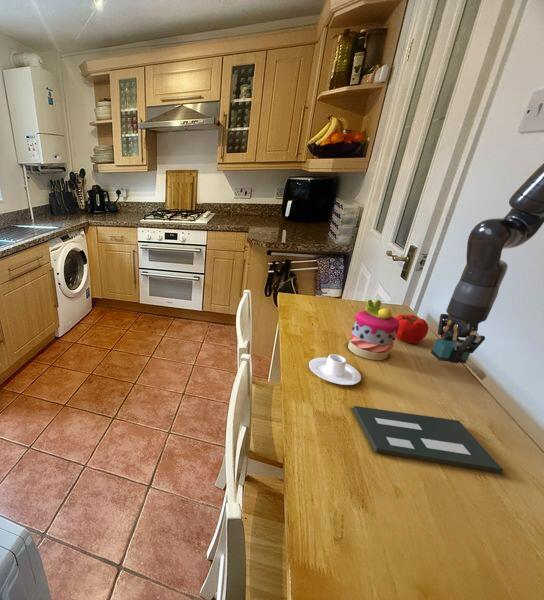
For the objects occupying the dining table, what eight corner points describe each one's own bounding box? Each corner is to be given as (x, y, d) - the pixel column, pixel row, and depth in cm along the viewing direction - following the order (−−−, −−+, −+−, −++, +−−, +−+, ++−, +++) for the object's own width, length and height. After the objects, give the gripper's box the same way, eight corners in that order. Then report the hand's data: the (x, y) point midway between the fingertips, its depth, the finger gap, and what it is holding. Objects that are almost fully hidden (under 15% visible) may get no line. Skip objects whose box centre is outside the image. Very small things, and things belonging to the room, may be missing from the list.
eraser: (456, 355, 87) (462, 341, 86) (465, 363, 84) (472, 348, 82) (430, 352, 89) (436, 338, 87) (438, 360, 85) (444, 346, 83)
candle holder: (355, 393, 76) (360, 379, 75) (302, 374, 84) (306, 360, 82) (363, 371, 85) (368, 357, 83) (315, 354, 92) (318, 342, 90)
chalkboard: (456, 424, 68) (458, 420, 67) (500, 473, 57) (503, 469, 56) (352, 409, 72) (353, 405, 71) (375, 452, 61) (376, 448, 61)
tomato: (400, 330, 105) (407, 310, 102) (429, 343, 98) (438, 322, 95) (379, 334, 103) (386, 314, 100) (408, 348, 95) (416, 326, 92)
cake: (396, 355, 92) (414, 308, 86) (374, 364, 88) (391, 315, 82) (360, 338, 100) (374, 294, 95) (338, 346, 96) (351, 301, 90)
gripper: (513, 312, 72) (482, 374, 79) (471, 290, 85) (448, 345, 92) (473, 309, 74) (447, 370, 81) (438, 288, 87) (417, 342, 93)
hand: (447, 357), depth 86 cm, fingers closed on eraser, 4 cm apart
